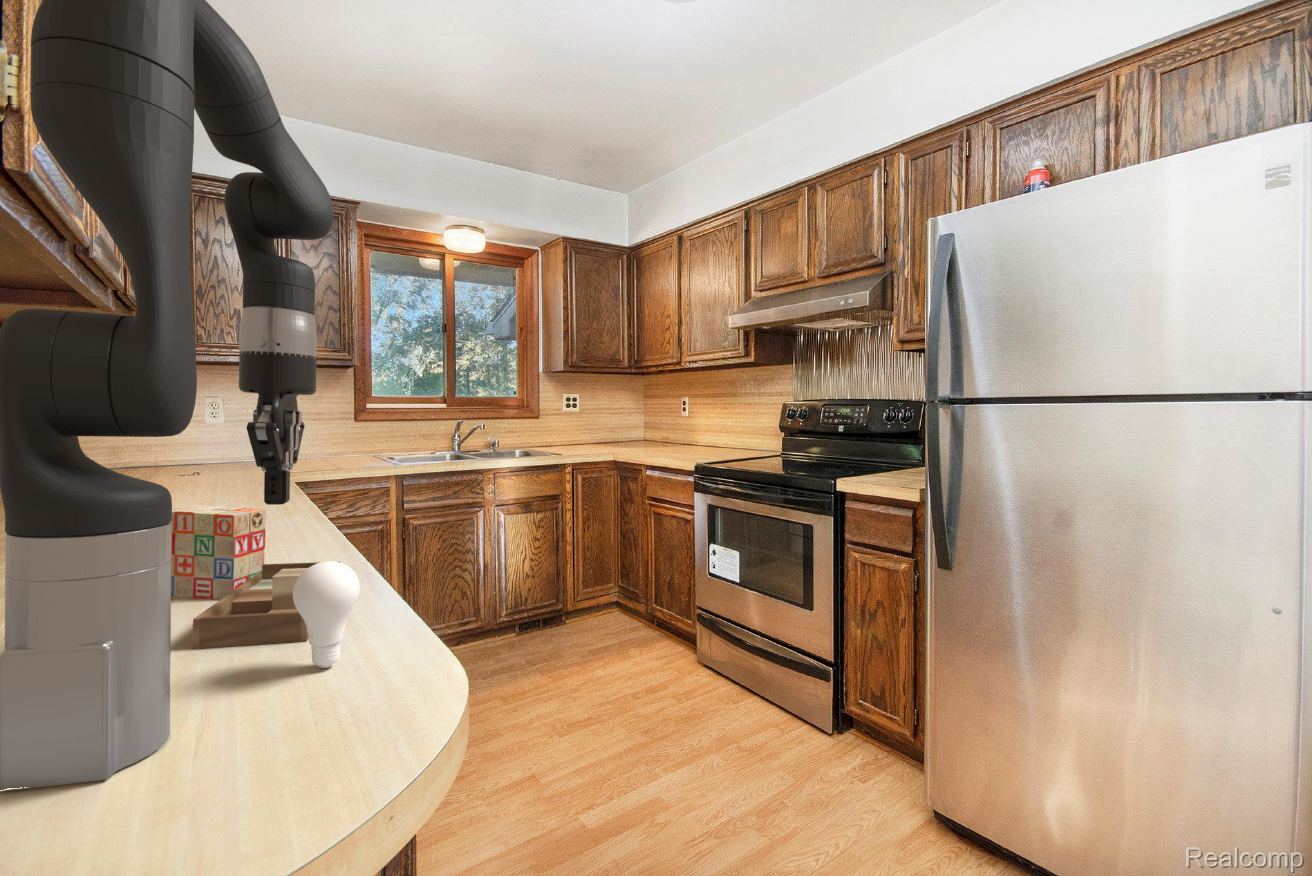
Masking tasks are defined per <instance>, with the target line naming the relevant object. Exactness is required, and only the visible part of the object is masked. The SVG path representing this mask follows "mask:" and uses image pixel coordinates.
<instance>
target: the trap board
mask: <svg viewBox="0 0 1312 876" xmlns="http://www.w3.org/2000/svg"><path fill="white" fill-rule="evenodd" d="M321 562H322V561H317V562H315V561H314V562H292V563H291V562H289V563H287V562H286V563H264V564H263V565H262V573H258V574H256V575H255V576H253V577H252V578H251V579H249V580H248V581H246V582H245V583H243V584H242V585H241V586H239V587H238V588H236V589H235V590H234V591H232V592H231V593H229V594H228V595H227V596H225V597H224V598H222V599H221V600H217V601H216V602H215V603H214V604H212V605H211V606H210V607H208V608H207V609H206V610H204V611H203V612H201V613H200V614H198V615H197V616H196V617H194V618H192V619H193V620H192V649H193V650H197V649H211V648H212V649H213V648H227V647H238V646H239V647H241V646H244V647H245V646H257V645H273V644H283V643H282V642H289V643H299V642H300V641H301V642H302V641H304V642H308V641H309V639H308V638H309V634H308V629H307V626H306V624H305V621H304V620H303V618H302V617H301V615H300V614H299V612H298V610H297V608H296V609H277V610H272V577H273V576H274V575H275V574H277V573H278V572H279V571H281V570H282V569H298V568H309V567H311V566H313V565H315V564H317V563H321ZM338 562H339V563H341V561H338ZM301 642H300V643H301Z"/></svg>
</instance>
